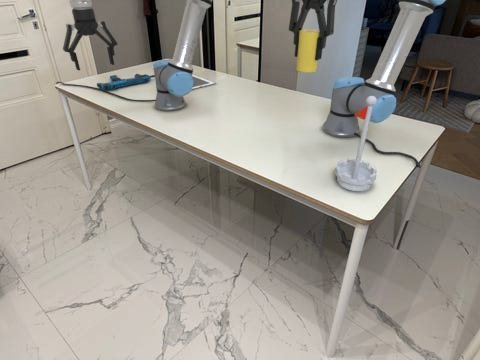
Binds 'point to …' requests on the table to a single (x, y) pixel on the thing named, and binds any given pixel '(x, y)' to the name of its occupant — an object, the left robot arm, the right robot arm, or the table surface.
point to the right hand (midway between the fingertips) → (307, 57)
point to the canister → (307, 50)
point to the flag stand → (358, 159)
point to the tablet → (200, 82)
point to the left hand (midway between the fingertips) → (95, 66)
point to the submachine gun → (123, 81)
